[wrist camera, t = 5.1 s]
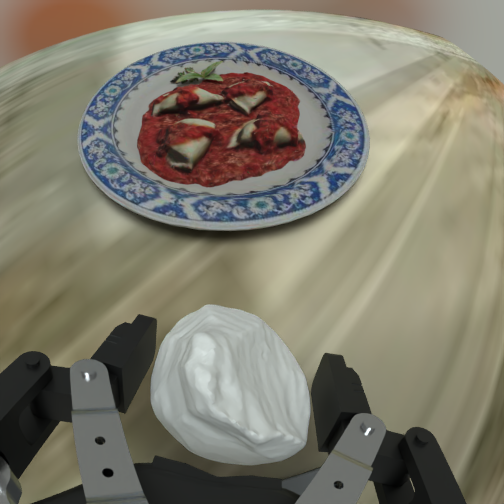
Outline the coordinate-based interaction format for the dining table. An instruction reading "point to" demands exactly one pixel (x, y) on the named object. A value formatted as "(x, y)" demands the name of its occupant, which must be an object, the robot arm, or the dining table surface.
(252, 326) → the white peaked cylinder
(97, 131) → the ceramic plate
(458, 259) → the dining table surface
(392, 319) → the dining table surface
